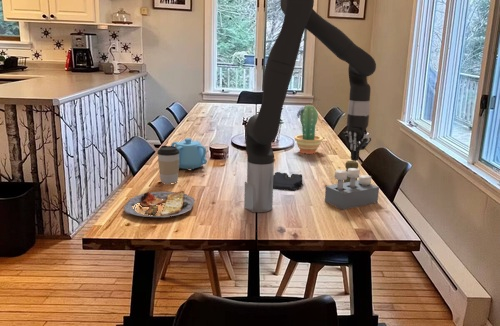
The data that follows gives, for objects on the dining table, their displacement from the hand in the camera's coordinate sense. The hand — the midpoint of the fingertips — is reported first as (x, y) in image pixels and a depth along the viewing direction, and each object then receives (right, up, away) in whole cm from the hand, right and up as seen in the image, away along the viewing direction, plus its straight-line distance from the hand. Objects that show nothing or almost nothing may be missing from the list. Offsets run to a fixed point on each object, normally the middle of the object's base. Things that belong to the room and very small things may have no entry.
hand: (354, 160), depth 165 cm
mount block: (0, -16, +4) cm, 16 cm away
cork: (+3, -11, +22) cm, 25 cm away
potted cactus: (-7, +5, +80) cm, 80 cm away
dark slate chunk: (-27, -10, +24) cm, 38 cm away
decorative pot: (-67, -3, +46) cm, 81 cm away
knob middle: (0, -12, +3) cm, 12 cm away
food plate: (-70, -17, -5) cm, 72 cm away
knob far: (+5, -14, +7) cm, 17 cm away
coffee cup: (-72, -9, +23) cm, 76 cm away
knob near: (-5, -12, 0) cm, 14 cm away
